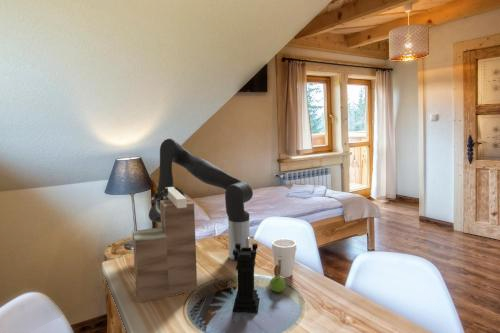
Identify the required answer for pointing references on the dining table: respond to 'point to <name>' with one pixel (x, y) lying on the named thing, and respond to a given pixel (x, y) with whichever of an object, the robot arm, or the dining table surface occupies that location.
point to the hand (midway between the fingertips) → (171, 189)
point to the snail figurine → (277, 278)
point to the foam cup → (284, 255)
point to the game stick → (176, 198)
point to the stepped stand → (166, 254)
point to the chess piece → (245, 280)
